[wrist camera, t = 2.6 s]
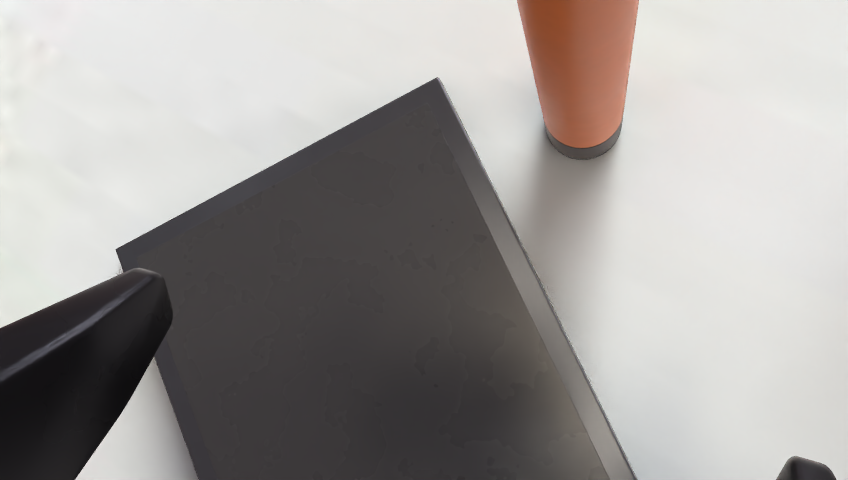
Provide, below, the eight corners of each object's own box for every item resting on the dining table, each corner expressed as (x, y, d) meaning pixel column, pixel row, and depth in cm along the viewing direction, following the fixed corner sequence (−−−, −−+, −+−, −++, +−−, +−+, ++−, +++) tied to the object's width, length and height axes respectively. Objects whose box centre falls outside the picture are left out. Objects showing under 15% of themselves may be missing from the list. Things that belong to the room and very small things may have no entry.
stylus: (566, 172, 24) (536, -9, 11) (533, 109, 24) (470, -132, 12) (635, 138, 23) (684, -89, 11) (600, 75, 24) (608, -212, 11)
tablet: (734, 676, 21) (740, 690, 20) (338, 825, 23) (328, 844, 22) (442, 83, 25) (437, 75, 24) (128, 251, 27) (113, 248, 26)
